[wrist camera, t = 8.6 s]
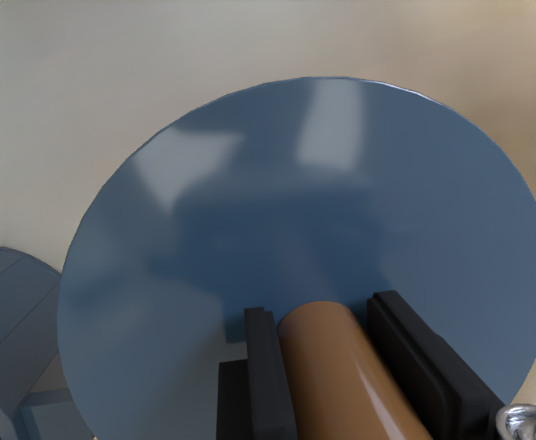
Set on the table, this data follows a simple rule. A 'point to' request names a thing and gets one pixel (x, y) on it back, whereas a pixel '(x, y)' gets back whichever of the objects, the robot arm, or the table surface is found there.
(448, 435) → the robot arm
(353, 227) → the crock lid
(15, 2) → the table surface
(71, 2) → the table surface
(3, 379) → the crock
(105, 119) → the table surface
